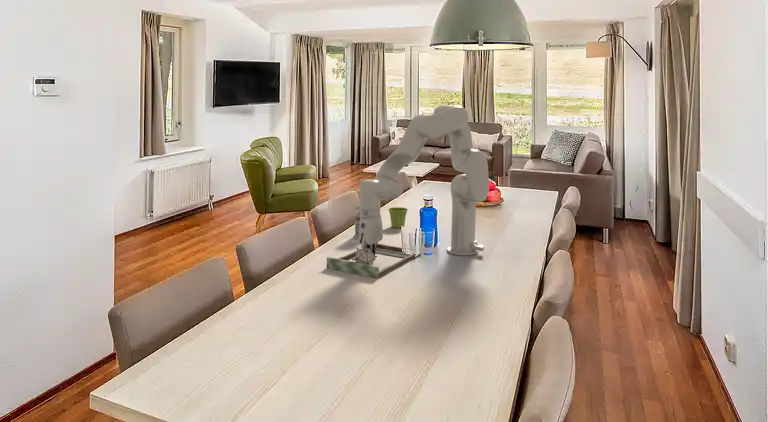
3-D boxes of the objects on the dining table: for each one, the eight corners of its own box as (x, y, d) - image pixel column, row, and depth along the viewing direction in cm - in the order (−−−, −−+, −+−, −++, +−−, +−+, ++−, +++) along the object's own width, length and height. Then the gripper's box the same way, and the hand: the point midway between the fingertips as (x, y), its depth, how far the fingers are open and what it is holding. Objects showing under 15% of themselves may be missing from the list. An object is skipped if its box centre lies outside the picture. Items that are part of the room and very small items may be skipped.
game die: (368, 279, 195) (373, 263, 188) (347, 270, 196) (351, 254, 189) (376, 261, 202) (382, 245, 194) (356, 252, 202) (360, 236, 195)
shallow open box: (421, 254, 213) (421, 244, 212) (377, 278, 185) (377, 267, 185) (374, 246, 224) (374, 237, 223) (326, 267, 197) (326, 257, 196)
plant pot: (386, 224, 261) (386, 207, 259) (404, 223, 263) (404, 206, 261) (390, 229, 252) (390, 211, 250) (409, 228, 254) (410, 210, 252)
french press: (360, 232, 246) (360, 179, 240) (382, 236, 240) (382, 181, 235) (348, 237, 237) (347, 182, 232) (370, 241, 232) (370, 184, 226)
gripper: (367, 218, 189) (368, 267, 193) (389, 210, 202) (389, 256, 206) (350, 215, 193) (351, 263, 197) (372, 208, 205) (372, 253, 209)
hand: (370, 260), depth 201 cm, fingers closed
